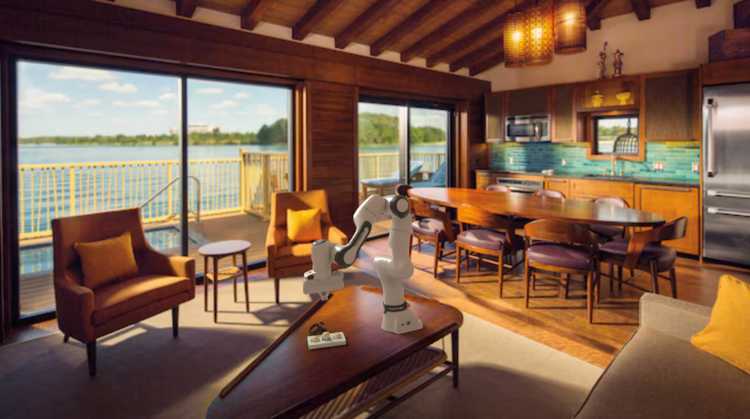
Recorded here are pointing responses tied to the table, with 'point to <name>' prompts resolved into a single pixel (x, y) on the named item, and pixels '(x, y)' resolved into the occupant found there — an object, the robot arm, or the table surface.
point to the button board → (327, 343)
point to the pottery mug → (319, 329)
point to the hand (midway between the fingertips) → (324, 299)
